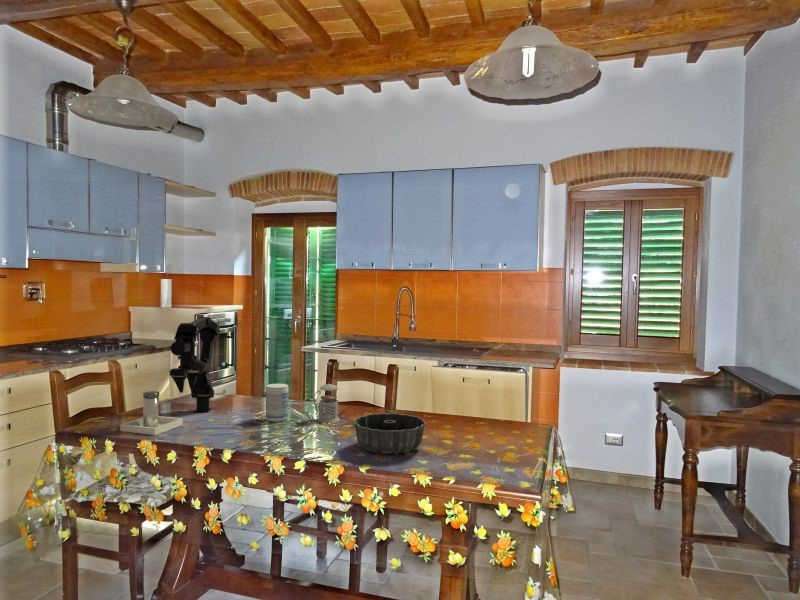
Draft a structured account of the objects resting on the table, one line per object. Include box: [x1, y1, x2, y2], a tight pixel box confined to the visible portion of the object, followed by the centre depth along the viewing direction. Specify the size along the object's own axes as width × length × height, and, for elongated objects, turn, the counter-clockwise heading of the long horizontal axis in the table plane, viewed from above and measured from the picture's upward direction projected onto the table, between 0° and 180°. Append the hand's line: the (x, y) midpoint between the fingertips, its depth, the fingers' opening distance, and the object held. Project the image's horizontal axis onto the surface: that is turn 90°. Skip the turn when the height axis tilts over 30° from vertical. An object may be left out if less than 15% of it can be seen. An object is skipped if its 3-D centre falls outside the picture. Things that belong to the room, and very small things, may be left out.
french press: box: [312, 361, 341, 423], centre depth 241 cm, size 10×12×25 cm
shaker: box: [142, 390, 160, 428], centre depth 219 cm, size 6×6×14 cm
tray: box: [119, 415, 184, 436], centre depth 220 cm, size 16×16×3 cm
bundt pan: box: [353, 412, 427, 455], centre depth 203 cm, size 26×26×10 cm
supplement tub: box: [265, 383, 289, 423], centre depth 239 cm, size 10×10×15 cm
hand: (186, 390), depth 232 cm, fingers open, 9 cm apart
